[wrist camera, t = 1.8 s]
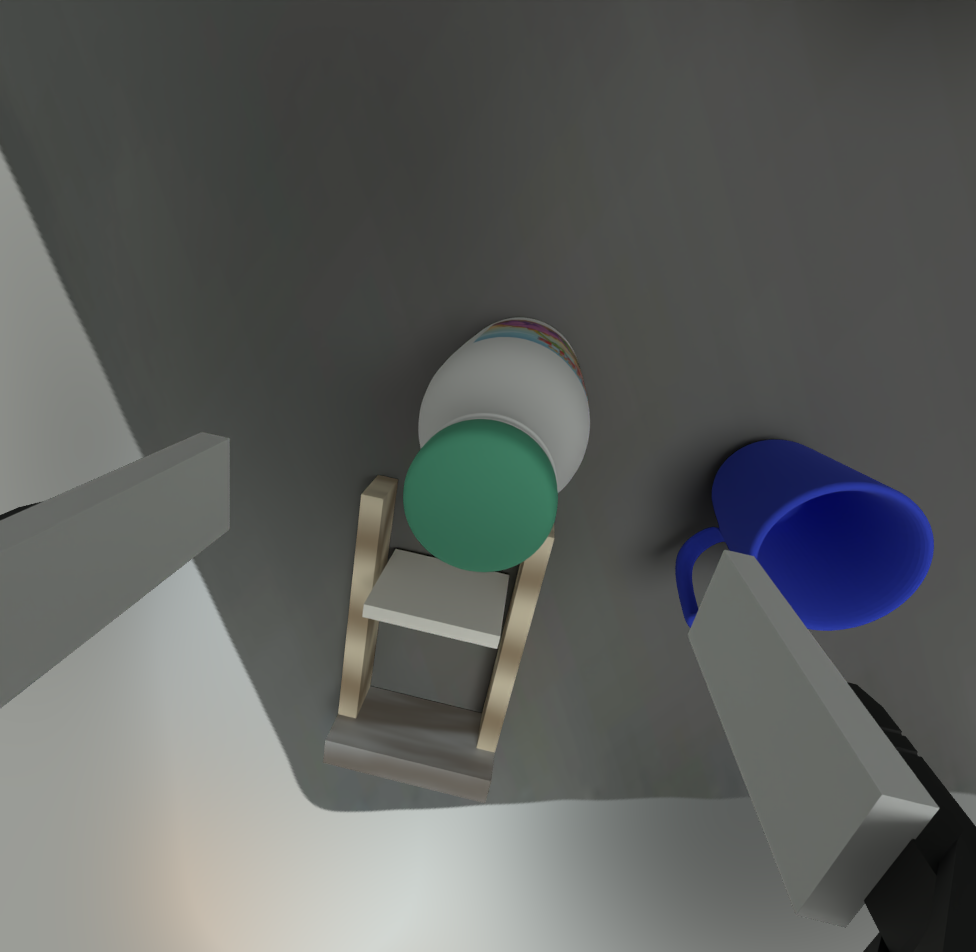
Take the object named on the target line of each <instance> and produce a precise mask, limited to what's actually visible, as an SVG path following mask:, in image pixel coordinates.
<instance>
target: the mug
mask: <svg viewBox="0 0 976 952" xmlns="http://www.w3.org/2000/svg"><path fill="white" fill-rule="evenodd" d="M712 502H713V507H714V511H715V514H716V517H717V521H718V524H719V528H716V527H710V528H706V529H704V530H702V531H700V532H698V533H696V534H695V535H693V536H692V537H690V538H689V539H688V540H687V541H686V542H685V543H684V544H683V546H682V547H681V549H680V550H679V553H678V555H677V559H676V568H675V569H676V583H677V588H678V593H679V598H680V602H681V606H682V610H683V614H684V618H685V620H686V623H687V624H688V626H689V627H690V628H691V626H692V624H693V621H694V619H695V617H696V614H697V612H698V606H697V603H696V599H695V595H694V590H693V584H692V569H693V565H694V563H695V561H696V559H697V558H698V557H699V555H700V554H701V553H702V552H703V551H705V550H706V549H707V548H709V547H711V546H712V545H714V544H716V543H719V542H726V544H727V546H728V548H729V550H730V551H733V552H737V553H742V554H746V555H751V556H754V557H755V558H756V560H757V561H758V562H759V564H760V565H761V566H762V568H763V569H764V571H765V572H766V573H767V575H768V576H769V577H770V579H771V580H772V581H773V583H774V584H775V585H776V587H777V588H778V590H779V591H780V592H781V594H782V595H783V596H784V598H785V599H786V600H787V602H788V603H789V604H790V606H791V607H792V609H793V610H794V611H795V613H796V614H797V615H798V617H799V618H800V619H801V621H802V622H803V623H804V625H805V626H806V628H807V629H812V630H823V631H832V630H842V629H848V628H853V627H857V626H861V625H864V624H867V623H870V622H872V621H875V620H877V619H879V618H881V617H883V616H885V615H887V614H888V613H890V612H892V611H893V610H895V609H896V608H898V607H899V606H900V605H901V604H903V603H904V602H905V601H906V600H907V599H908V598H909V597H910V596H911V595H912V594H913V593H914V592H915V591H916V590H917V589H918V587H919V586H920V584H921V583H922V581H923V580H924V578H925V576H926V575H927V572H928V570H929V568H930V565H931V561H932V557H933V550H934V539H933V533H932V530H931V526H930V524H929V522H928V520H927V518H926V516H925V515H924V513H923V511H922V510H921V509H920V508H919V507H918V506H917V505H916V504H915V503H914V502H913V501H912V500H911V499H910V498H908V497H907V496H905V495H904V494H902V493H900V492H899V491H897V490H895V489H893V488H891V487H888V486H886V485H884V484H882V483H880V482H878V481H876V480H874V479H872V478H870V477H868V476H866V475H864V474H862V473H860V472H858V471H856V470H854V469H852V468H850V467H848V466H845V465H843V464H841V463H839V462H837V461H835V460H833V459H831V458H829V457H827V456H825V455H823V454H821V453H819V452H817V451H815V450H813V449H811V448H809V447H806V446H804V445H802V444H799V443H796V442H792V441H787V440H764V441H759V442H755V443H752V444H749V445H747V446H745V447H743V448H741V449H739V450H737V451H736V452H734V453H733V454H732V455H731V456H730V457H728V459H727V460H726V461H725V462H724V463H723V464H722V466H721V467H720V468H719V470H718V472H717V474H716V476H715V479H714V482H713V486H712Z"/></svg>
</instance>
